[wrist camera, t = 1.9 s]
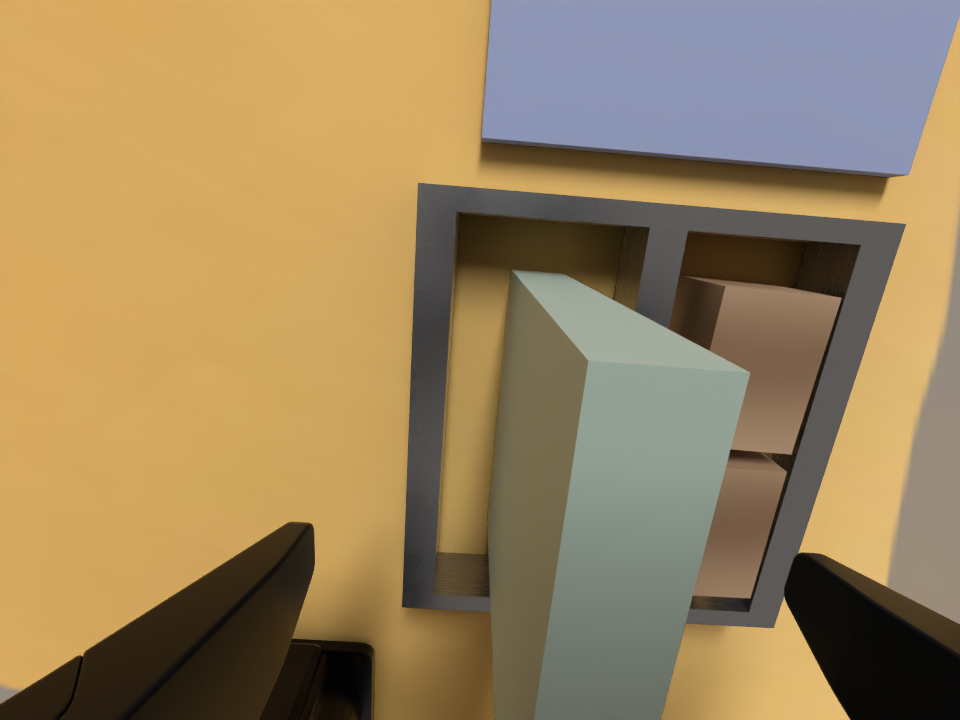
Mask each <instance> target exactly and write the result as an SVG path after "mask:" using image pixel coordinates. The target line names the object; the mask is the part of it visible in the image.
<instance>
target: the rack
mask: <svg viewBox="0 0 960 720" xmlns="http://www.w3.org/2000/svg"><path fill="white" fill-rule="evenodd" d="M459 214H469V215H482V216H494V217H506V218H518V219H530V220H542V221H554V222H566V223H578V224H591V225H603V226H615V227H626V228H625V234H624V240H623V246H622V252H621V259H620V265H619V271H618V277H617V283H616V290H615V296H614V301H616V302H618V303H620V304H622V305H624V306H625V307H627V308H629V309H631V310H633V311H635V312H637V313H639V314H641V315H642V316H644V317H646V318H648V319H650V320H652V321H654V322H656V323H658V324H659V325H661V326H663V327H665V328H667V329H669V324H670V319H671V314H672V309H673V304H674V299H675V294H676V289H677V284H678V279H679V274H680V269H681V264H682V259H683V254H684V249H685V244H686V239H687V234H688V233H699V234H712V235H724V236H736V237H748V238H760V239H772V240H784V241H796V242H807V246H806V249H805V253H804V257H803V261H802V264H801V268H800V272H799V275H798V279H797V283H796V286H795V289H798V290H803V291H808V292H814V293H819V294H824V295H829V296H835V297H840V298H842V299H841V302H840V305H839V308H838V311H837V314H836V317H835V320H834V323H833V326H832V330H831V333H830V336H829V339H828V342H827V345H826V348H825V351H824V354H823V358H822V361H821V364H820V367H819V370H818V373H817V376H816V379H815V382H814V386H813V389H812V392H811V395H810V398H809V401H808V404H807V407H806V410H805V413H804V417H803V420H802V423H801V426H800V429H799V432H798V435H797V438H796V441H795V445H794V448H793V451H792V454H779V453H768V452H762V453H763V454H765V455H766V456H767V457H768V458H770V459H771V460H772V461H774V462H775V463H776V464H777V465H779V466H780V467H781V468H783V469H784V470H785V471H786V472H787V474H786V477H785V481H784V484H783V488H782V491H781V494H780V498H779V501H778V505H777V508H776V512H775V515H774V519H773V522H772V525H771V529H770V532H769V536H768V539H767V543H766V546H765V550H764V553H763V557H762V560H761V563H760V567H759V570H758V574H757V577H756V581H755V584H754V588H753V591H752V594H751V598H733V597H712V596H693V597H692V601H691V604H690V608H689V612H688V616H687V620H686V623H691V624H709V625H726V626H744V627H762V628H774V625H775V622H776V619H777V616H778V613H779V610H780V607H781V604H782V601H783V598H784V586H785V583H786V580H787V577H788V573H789V570H790V567H791V564H792V561H793V558H794V557H795V556H796V555H797V554H798V552H799V549H800V546H801V543H802V540H803V537H804V534H805V531H806V528H807V525H808V521H809V518H810V515H811V512H812V509H813V506H814V503H815V500H816V497H817V494H818V491H819V488H820V485H821V482H822V479H823V476H824V473H825V470H826V467H827V464H828V460H829V457H830V454H831V451H832V448H833V445H834V442H835V439H836V436H837V433H838V430H839V427H840V424H841V421H842V418H843V415H844V412H845V409H846V406H847V402H848V399H849V396H850V393H851V390H852V387H853V384H854V381H855V378H856V375H857V372H858V369H859V366H860V363H861V360H862V357H863V354H864V351H865V348H866V345H867V341H868V338H869V335H870V332H871V329H872V326H873V323H874V320H875V317H876V314H877V311H878V308H879V305H880V302H881V299H882V296H883V293H884V290H885V287H886V284H887V280H888V277H889V274H890V271H891V268H892V265H893V262H894V259H895V256H896V253H897V250H898V247H899V244H900V241H901V238H902V235H903V232H904V229H905V226H906V224H899V223H887V222H875V221H863V220H852V219H840V218H828V217H816V216H804V215H792V214H780V213H769V212H757V211H745V210H733V209H721V208H709V207H698V206H686V205H674V204H662V203H650V202H638V201H626V200H615V199H603V198H591V197H579V196H567V195H555V194H543V193H532V192H520V191H508V190H496V189H484V188H472V187H461V186H449V185H437V184H425V183H418V201H417V227H416V254H415V280H414V307H413V334H412V360H411V387H410V413H409V440H408V467H407V493H406V520H405V546H404V573H403V600H402V607H407V608H425V609H442V610H460V611H478V612H491V609H490V582H489V556H488V555H474V554H457V553H440V552H438V547H439V531H440V515H441V499H442V483H443V467H444V451H445V435H446V419H447V403H448V387H449V371H450V355H451V339H452V323H453V307H454V291H455V275H456V259H457V243H458V227H459Z"/></svg>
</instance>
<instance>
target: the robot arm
mask: <svg viewBox="0 0 960 720" xmlns="http://www.w3.org/2000/svg"><path fill="white" fill-rule="evenodd" d="M314 566H315V544H314V528H313V525H312V524H311V523H305V522H289V523H287V524H285V525H283V526H282V527H280V528H279V529H277V530H276V531H274V532H272V533H271V534H269V535H268V536H266V537H264V538H263V539H261V540H260V541H258V542H257V543H255V544H253V545H252V546H250V547H249V548H247V549H246V550H244V551H242V552H241V553H239V554H238V555H236V556H234V557H233V558H231V559H230V560H228V561H227V562H225V563H223V564H222V565H220V566H219V567H217V568H216V569H214V570H212V571H211V572H209V573H208V574H206V575H205V576H203V577H201V578H200V579H198V580H197V581H195V582H193V583H192V584H190V585H189V586H187V587H186V588H184V589H182V590H181V591H179V592H178V593H176V594H175V595H173V596H171V597H170V598H168V599H167V600H165V601H163V602H162V603H160V604H159V605H157V606H156V607H154V608H152V609H151V610H149V611H148V612H146V613H145V614H143V615H141V616H140V617H138V618H137V619H135V620H134V621H132V622H130V623H129V624H127V625H126V626H124V627H122V628H121V629H119V630H118V631H116V632H115V633H113V634H111V635H110V636H108V637H107V638H105V639H104V640H102V641H100V642H99V643H97V644H96V645H94V646H92V647H91V648H89V649H88V650H86V651H85V652H84V654H83V657H82V656H81V655H79V656H76V657H75V658H73V659H72V660H70V661H69V662H67V663H65V664H64V665H62V666H61V667H59V668H57V669H56V670H54V671H53V672H51V673H50V674H48V675H46V676H45V677H43V678H42V679H40V680H38V681H37V682H35V683H33V684H32V685H30V686H29V687H27V688H25V689H24V690H22V691H20V692H19V693H17V694H15V695H14V696H12V697H11V698H9V699H8V700H6V701H4V702H2V703H1V704H0V720H373V709H374V649H373V648H372V647H371V646H370V645H368V644H365V643H358V642H339V641H321V640H302V639H292V637H293V634H294V631H295V627H296V624H297V621H298V618H299V615H300V612H301V609H302V606H303V603H304V600H305V597H306V594H307V591H308V588H309V585H310V582H311V578H312V575H313V571H314ZM784 597H785V600H786V603H787V605H788V607H789V609H790V611H791V613H792V614H793V616H794V618H795V620H796V622H797V624H798V626H799V628H800V630H801V632H802V634H803V636H804V638H805V639H806V641H807V643H808V645H809V647H810V649H811V651H812V653H813V655H814V657H815V659H816V661H817V663H818V664H819V666H820V668H821V670H822V672H823V674H824V676H825V678H826V680H827V681H828V683H829V685H830V687H831V689H832V691H833V692H834V694H835V696H836V697H837V699H838V701H839V702H840V704H841V706H842V707H843V709H844V710H845V712H846V714H847V715H848V717H849V718H850V720H960V624H958V623H956V622H954V621H952V620H950V619H948V618H946V617H944V616H942V615H940V614H938V613H936V612H934V611H933V610H931V609H929V608H927V607H925V606H923V605H921V604H919V603H917V602H915V601H913V600H911V599H909V598H907V597H905V596H903V595H901V594H899V593H897V592H895V591H893V590H891V589H889V588H888V587H886V586H884V585H882V584H880V583H878V582H876V581H874V580H872V579H870V578H868V577H866V576H864V575H862V574H860V573H858V572H856V571H854V570H852V569H850V568H848V567H846V566H845V565H843V564H841V563H839V562H837V561H835V560H833V559H831V558H829V557H827V556H825V555H822V554H817V553H798V554H797V555H796V556H795V557H794V558H793V561H792V564H791V567H790V570H789V573H788V577H787V580H786V583H785V586H784ZM361 657H362V658H361Z"/></svg>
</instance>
